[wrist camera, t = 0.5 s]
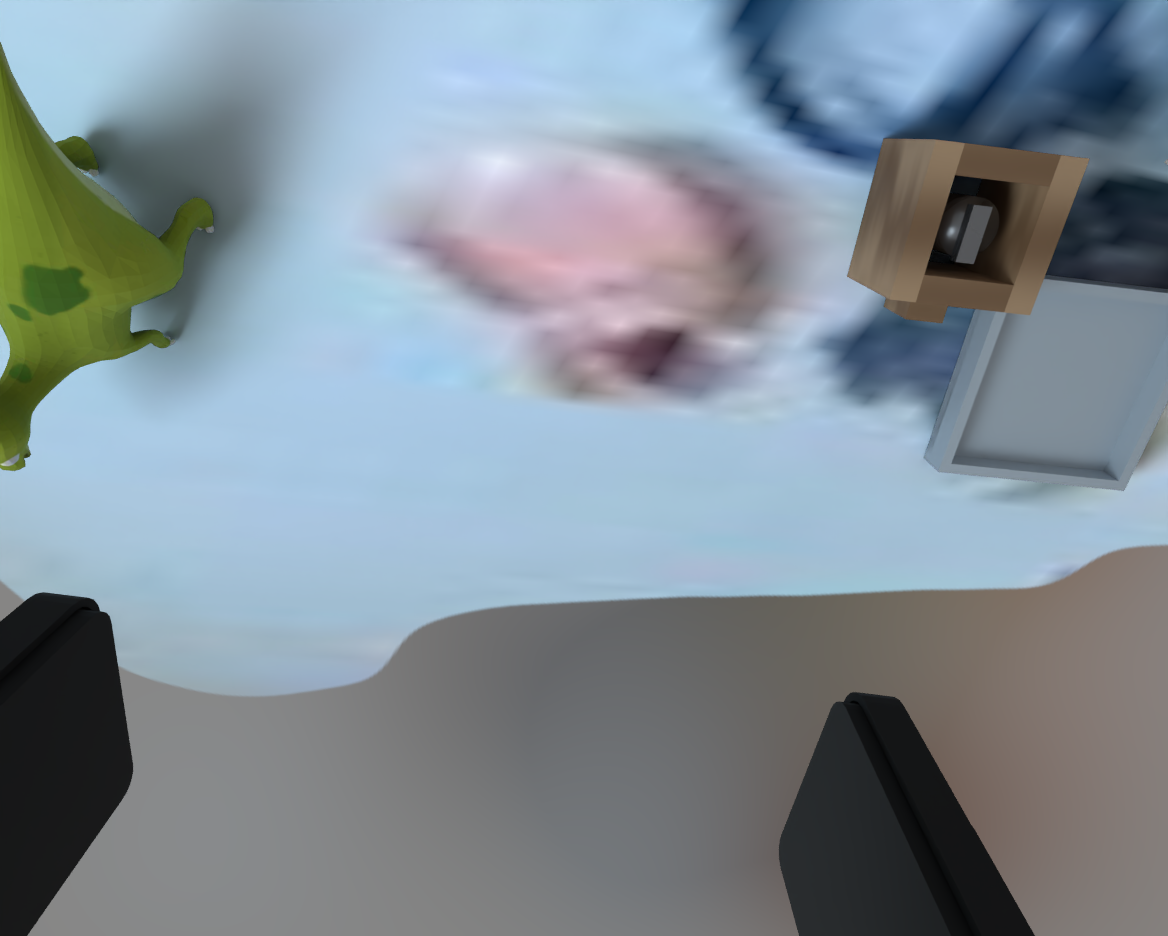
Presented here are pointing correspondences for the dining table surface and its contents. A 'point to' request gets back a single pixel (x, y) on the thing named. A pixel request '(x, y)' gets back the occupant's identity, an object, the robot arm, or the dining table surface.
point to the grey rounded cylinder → (966, 227)
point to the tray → (1058, 387)
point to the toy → (68, 265)
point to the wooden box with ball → (915, 208)
